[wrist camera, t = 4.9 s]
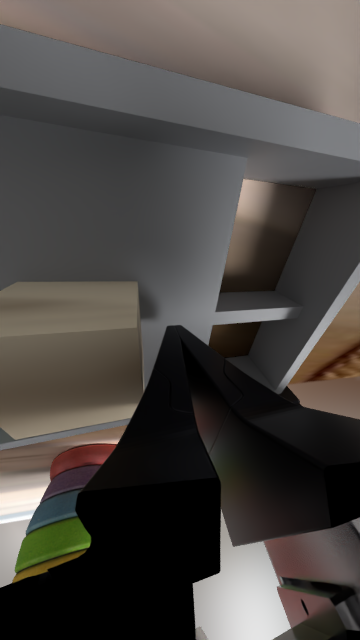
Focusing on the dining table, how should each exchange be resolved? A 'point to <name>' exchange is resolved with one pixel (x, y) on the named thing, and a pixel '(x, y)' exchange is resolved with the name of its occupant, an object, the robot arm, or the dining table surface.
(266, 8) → the dining table surface
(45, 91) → the gray tray box
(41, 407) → the birch block
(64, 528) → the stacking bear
